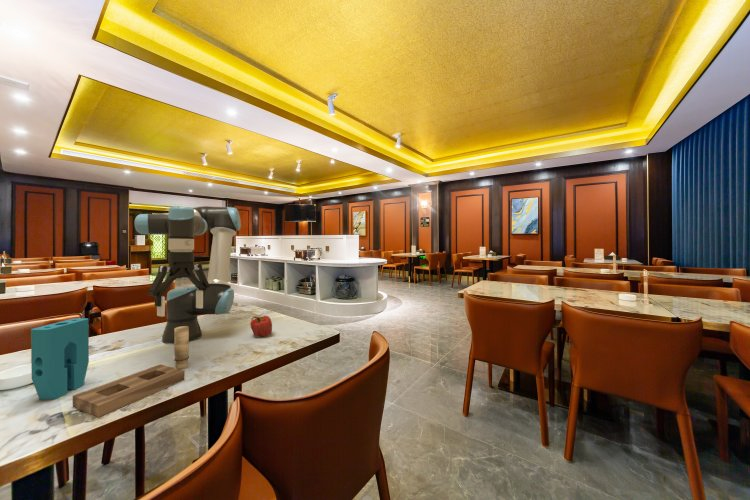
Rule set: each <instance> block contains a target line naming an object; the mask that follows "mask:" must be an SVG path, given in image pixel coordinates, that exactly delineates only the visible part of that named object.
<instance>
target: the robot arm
mask: <svg viewBox="0 0 750 500" xmlns="http://www.w3.org/2000/svg"><path fill="white" fill-rule="evenodd" d="M134 228H135V229H134V230H135V231H136V232H137V233H138V234H140V235H148V236H149V235H161V236H162V235H168V243H167V244H168V245H167V246H168V247H167V249H168V251H169V252H168V253H167V254H168V256H167V257H168V259H167V260H168V266H167V265H160V266H158V270H157V274H156V276H155V278H154V280H153V281H152V284H151V285H150V288H149V290H148V291H147V295H148V296H153V297H154V307H156V316H157V317H161V318H162V317H166V324H165V328H164V330H163V334H162V336H161V341H162V343H165V344H174V329H175V328H176V327H181V326H188V327H189V342H191V341H195V340H198V339H200V338H201V337H202V335H203V332H202V328H201V326H200V323H199V320H198V316H205V315H206V316H208V315H225V314H227V313H228V312H230V311H231V309H232V307H233V304H234V299H235V291H234V289H233V288H231V284H230V283H229V282H228V281H229V274H230V273H229V271H230V262H231V254H232V247H233V246H232V245H233V243H232V242H233V237H234V236H236V234H237V231H240V230H241V228H242V221H241V217H240V212H239V210H238V209H237V207H231V206H230V207H229V206H206V205H205V206H204V205H203V206H197V207H196V206H195V207H189V206H181V205H180V206H178V205H173V206H170V207H169V209H168V212H163V213H155V214H154V213H153V214H152V213H140V214H138V215H137V216H136V217H135V219H134ZM208 230H210V233H211V234H212V240H211V241H212V243H211V250H210V259H209V266H208V275H207V277H206V275H205V272H204V270H203V265H202V263H195V264H194V262H195V252H194V250H195V236H196V237H198V236H201V235H204V234H205V233H207V231H208ZM168 272H169V273H168ZM194 272H195V273H194ZM167 273H168V274H167ZM165 277H166V278H165ZM185 278H188V279H189V281H190V282H191V283H192V284H193V285H192V286H191V285H190V286H184V287H179V288H178V287H177V288H173V289H170V290H169V288H170V286H171V285H172V284H173V283H174V281H176V280H178V279H185ZM167 290H169V291H168V292H167ZM166 292H167V294H166V297H165V296H164V293H166ZM165 303H166V304H165ZM165 312H166V313H165ZM165 314H166V315H165Z"/></svg>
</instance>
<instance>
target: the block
mask: <svg viewBox="0 0 750 500" xmlns="http://www.w3.org/2000/svg"><path fill="white" fill-rule="evenodd" d="M89 332H90V331H89V318H86V317H85V318H79V317H78V318H70V319H65V320H62V321H57V322H54V323H50V324H46V325H42V326H38V327H34V328H31V329H30V341H31V342H30V347H31V348H30V349H31V350H30V351H31V352H30V353H31V354H30V356H31V358H30V359H31V360H30V362H31V381H32V384H33V386H34V389H35V391H36V395H37V397H38V399H39V400H43V401H44V400H57V399H59V398H61V397H63V396H65V395H67V394H68V391H70V390H71V391H72V390H73V391H74V390H75V391H76V390H77V389H80V388H81V387H84V383H85V380H86V376H87V375H86V374H87V371H88V368H89V367H88V366H89V362H90V361H89V360H90V354H89V353H90V350H89V347H90V346H89V343H90V342H89V335H90V334H89Z"/></svg>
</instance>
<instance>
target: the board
mask: <svg viewBox="0 0 750 500" xmlns="http://www.w3.org/2000/svg"><path fill="white" fill-rule="evenodd" d="M182 381H185V370H184V369H176V367H173V366H169V365H164V364H161V363H160V364H157V365H154V366H151V367H149V368H146V369H143V370H140V371H137V372H134V373H132V374H130V375H126V376H124V377H121V378H118V379H115V380H112V381H110V382H107V383H104V384H101V385H98V386H96V387H93V388H90V389H88V390H85V391H82V392H79V393H76V394H73V395H72V408H75V409H77V410H80V411H82V412H84V413H86V414H90V415H92V416H94V417H96V418H101V417H103V416H106V415H107V414H110V413H112V412H114V411H116V410H119V409H121V408H123V407H125V406H128V405H130V404H132V403H135V402H137V401H139V400H141V399H144V398H146V397H148V396H150V395H151V396H152V395H153V394H155V393H158V392H159V391H160V392H161V391H162V390H165V389H166V388H169V387H172V386H174V385H176V384H178V383H180V382H182Z"/></svg>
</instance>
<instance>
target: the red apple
mask: <svg viewBox="0 0 750 500" xmlns="http://www.w3.org/2000/svg"><path fill="white" fill-rule="evenodd" d="M250 320H251V321H250V322H249V323H250V328H251V330H252V334H253V336H255V338H259V337H268V336H269V335H271V333H272V331H273V322H272V319H271V317H270V316H268V315H262V316H252V317H251V318H250Z"/></svg>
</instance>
